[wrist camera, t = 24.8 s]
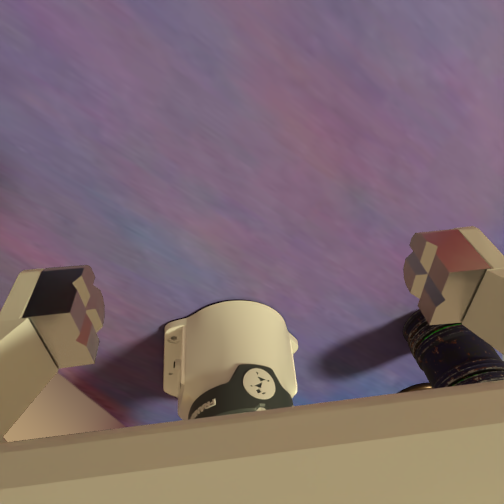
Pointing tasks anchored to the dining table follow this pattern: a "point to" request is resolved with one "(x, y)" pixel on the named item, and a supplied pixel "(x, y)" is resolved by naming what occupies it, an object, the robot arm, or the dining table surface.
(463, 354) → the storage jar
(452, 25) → the dining table surface
